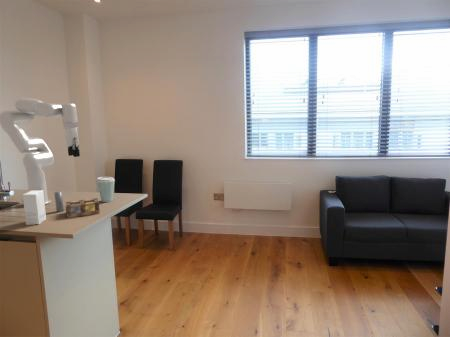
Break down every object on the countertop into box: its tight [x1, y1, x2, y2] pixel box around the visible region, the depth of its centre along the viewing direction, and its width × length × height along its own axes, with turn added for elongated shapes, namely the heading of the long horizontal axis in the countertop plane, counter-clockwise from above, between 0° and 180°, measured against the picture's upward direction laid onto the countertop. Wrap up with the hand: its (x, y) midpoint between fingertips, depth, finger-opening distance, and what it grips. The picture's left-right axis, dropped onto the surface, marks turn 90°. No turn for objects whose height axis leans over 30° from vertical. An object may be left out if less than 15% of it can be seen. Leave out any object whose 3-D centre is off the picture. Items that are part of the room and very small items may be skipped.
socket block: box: [65, 197, 101, 219], centre depth 171 cm, size 16×11×6 cm
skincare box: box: [22, 190, 47, 226], centre depth 157 cm, size 8×7×16 cm
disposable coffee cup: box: [96, 176, 116, 203], centre depth 195 cm, size 11×11×15 cm
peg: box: [54, 190, 65, 213], centre depth 175 cm, size 4×4×11 cm
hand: (74, 156), depth 180 cm, fingers open, 9 cm apart
